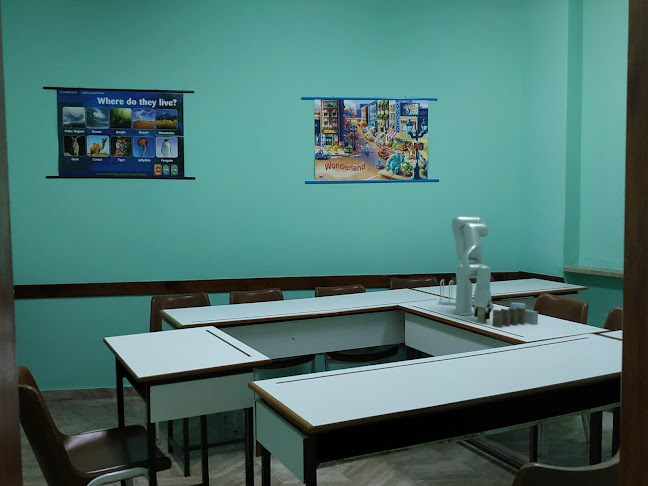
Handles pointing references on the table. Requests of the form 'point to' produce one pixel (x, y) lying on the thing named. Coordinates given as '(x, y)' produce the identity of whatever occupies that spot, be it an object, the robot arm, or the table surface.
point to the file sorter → (449, 301)
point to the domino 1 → (481, 315)
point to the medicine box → (518, 305)
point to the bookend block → (531, 317)
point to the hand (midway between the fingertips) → (482, 317)
